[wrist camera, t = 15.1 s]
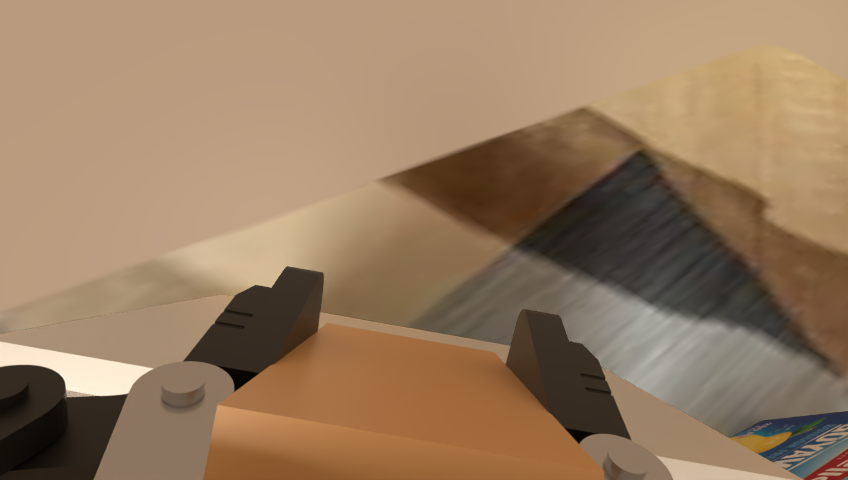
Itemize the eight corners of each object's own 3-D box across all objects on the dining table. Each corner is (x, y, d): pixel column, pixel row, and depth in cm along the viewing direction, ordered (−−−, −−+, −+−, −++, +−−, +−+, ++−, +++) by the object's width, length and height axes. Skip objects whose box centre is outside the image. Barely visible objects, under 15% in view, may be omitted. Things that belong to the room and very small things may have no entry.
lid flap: (-594, 517, 5) (-533, 274, 6) (218, 310, 28) (227, 263, 29) (1280, 829, 6) (1307, 594, 6) (585, 374, 29) (592, 328, 29)
